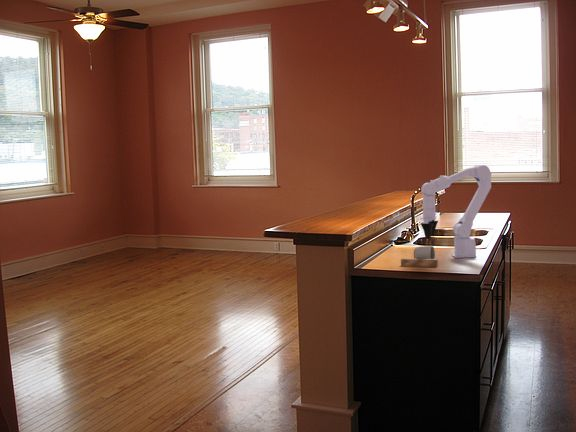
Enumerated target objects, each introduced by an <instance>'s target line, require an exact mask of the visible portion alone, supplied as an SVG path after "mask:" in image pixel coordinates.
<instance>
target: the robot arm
mask: <svg viewBox="0 0 576 432" xmlns="http://www.w3.org/2000/svg"><path fill="white" fill-rule="evenodd" d="M467 177H468V178H473V179H474V180H476V182H477V185H478V188H477V190H476V191H475V193H474V195H473V197H472V199H471V201H470V203H469V204H468V207H466V210H465V211H464V214H463V215H462V216H461V218H459V220H458V221H457V223H455V224H454V226H453V228H452V231H453V233H454V237H453V240H454V241H453V244H454V245H453V246H454V253H453V254H451V256H452V257H454V258H456V259H459V258H463V259H464V258H477V252H476V251H477V247H476V239H475V238H474V237H471V236H470V235H471V233H472V227H473V226H474V220H475V218H476V216H477V215H478V213H479V211H480V209H481V208H482V205H483V204H484V201H486V198H487V196H488V194H489V193H490V190H491V189H492V171H491V169H490V168H489V166H487V165H484V164H482V165H481V164H475V165H474V166H473V165H472V166H470V167H469V166H468V167H467V168H466V167H465V168H464V169H462V170H460V171H457V172H456V173H454V174H452V175H449V176H447V175H442V174H441V175H439V177H437V178H436V179H430V180H429V181H430V182H425V183H423V184H422V185H421V189H420V191H421V193H422V217H420V220H423V222H421V223H420V226H421V228H422V230H423V234H424V237H425V239H431V237H435V234H436V228H437V226H438V223H439V221H438V220H436V219H437V217H436V215H437V214H436V197H435V195H436V192H437V193H438V192H440V191H443V190H445V189H447V188H450V186H451V185H452V183H455V182H457V181H460V180H462V179H464V178H467Z"/></svg>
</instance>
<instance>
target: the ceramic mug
mask: <svg viewBox="0 0 576 432" xmlns="http://www.w3.org/2000/svg"><path fill="white" fill-rule="evenodd" d="M435 251H436V250H435V247H434V246H433V245H426V246H425V245H423V246H416V247H415V248H414V250H413V259H436V252H435Z"/></svg>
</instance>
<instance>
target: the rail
mask: <svg viewBox="0 0 576 432" xmlns="http://www.w3.org/2000/svg"><path fill="white" fill-rule="evenodd" d="M400 266H403V267H426V268H427V267H429V268H431V267H432V268H435V267H436V268H437V267H439V260H438V258H437V259H436V258H435V259H414V258H405V257H404V258H403V257H402V258H401V259H400Z"/></svg>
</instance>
